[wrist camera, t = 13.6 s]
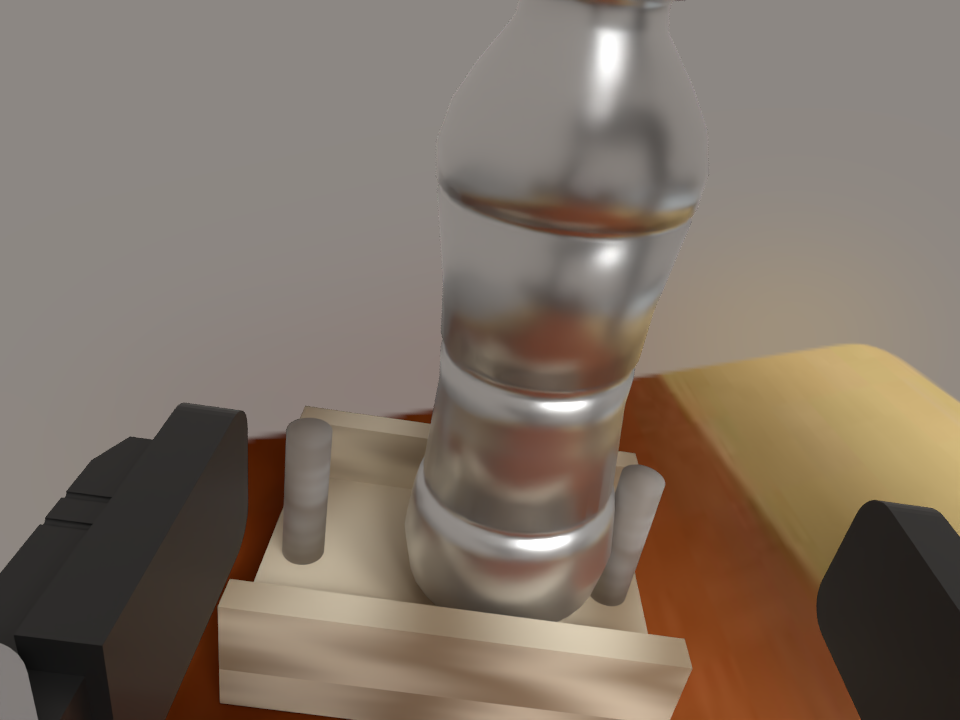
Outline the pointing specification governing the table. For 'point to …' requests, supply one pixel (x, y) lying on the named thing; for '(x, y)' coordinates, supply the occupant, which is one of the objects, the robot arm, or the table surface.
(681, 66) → the plastic bottle
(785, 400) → the table surface
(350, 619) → the caddy
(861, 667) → the robot arm
